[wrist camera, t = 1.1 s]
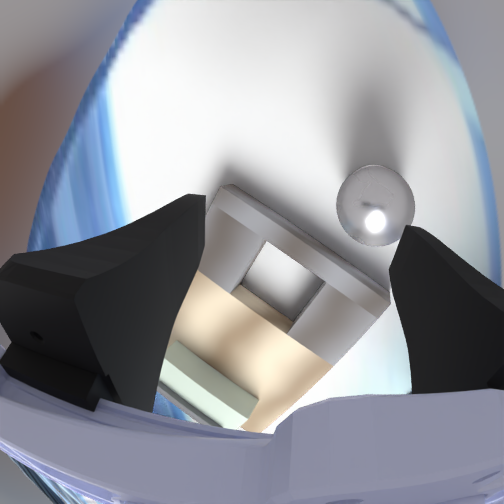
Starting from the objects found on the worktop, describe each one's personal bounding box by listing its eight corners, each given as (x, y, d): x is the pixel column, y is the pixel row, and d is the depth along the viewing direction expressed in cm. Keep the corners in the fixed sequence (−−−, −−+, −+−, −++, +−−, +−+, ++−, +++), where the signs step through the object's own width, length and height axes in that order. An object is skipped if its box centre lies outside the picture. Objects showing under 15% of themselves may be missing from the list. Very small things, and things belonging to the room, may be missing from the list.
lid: (258, 400, 26) (245, 424, 23) (238, 419, 27) (225, 442, 25) (176, 340, 27) (156, 358, 24) (163, 364, 29) (144, 382, 26)
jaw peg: (414, 187, 19) (429, 197, 14) (381, 234, 21) (385, 261, 15) (365, 152, 19) (363, 150, 14) (334, 201, 21) (321, 216, 16)
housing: (389, 292, 21) (390, 303, 20) (262, 423, 29) (255, 436, 28) (232, 184, 23) (220, 186, 22) (154, 344, 32) (142, 353, 30)
